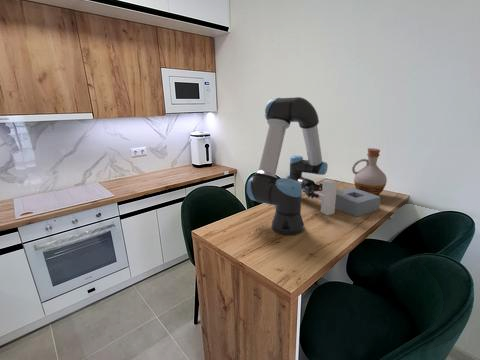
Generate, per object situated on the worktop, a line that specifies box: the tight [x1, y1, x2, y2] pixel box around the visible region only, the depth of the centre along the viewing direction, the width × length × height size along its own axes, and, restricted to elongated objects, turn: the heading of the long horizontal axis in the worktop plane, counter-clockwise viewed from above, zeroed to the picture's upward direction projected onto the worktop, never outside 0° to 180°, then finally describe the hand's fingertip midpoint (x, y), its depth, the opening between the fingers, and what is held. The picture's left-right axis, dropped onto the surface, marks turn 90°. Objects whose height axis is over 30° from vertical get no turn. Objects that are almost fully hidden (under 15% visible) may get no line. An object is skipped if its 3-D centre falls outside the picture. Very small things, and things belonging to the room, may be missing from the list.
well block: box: [335, 187, 381, 217], centre depth 140 cm, size 18×18×8 cm
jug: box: [351, 147, 388, 196], centre depth 153 cm, size 20×18×30 cm
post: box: [320, 178, 338, 216], centre depth 133 cm, size 5×5×18 cm
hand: (333, 195), depth 130 cm, fingers open, 13 cm apart
